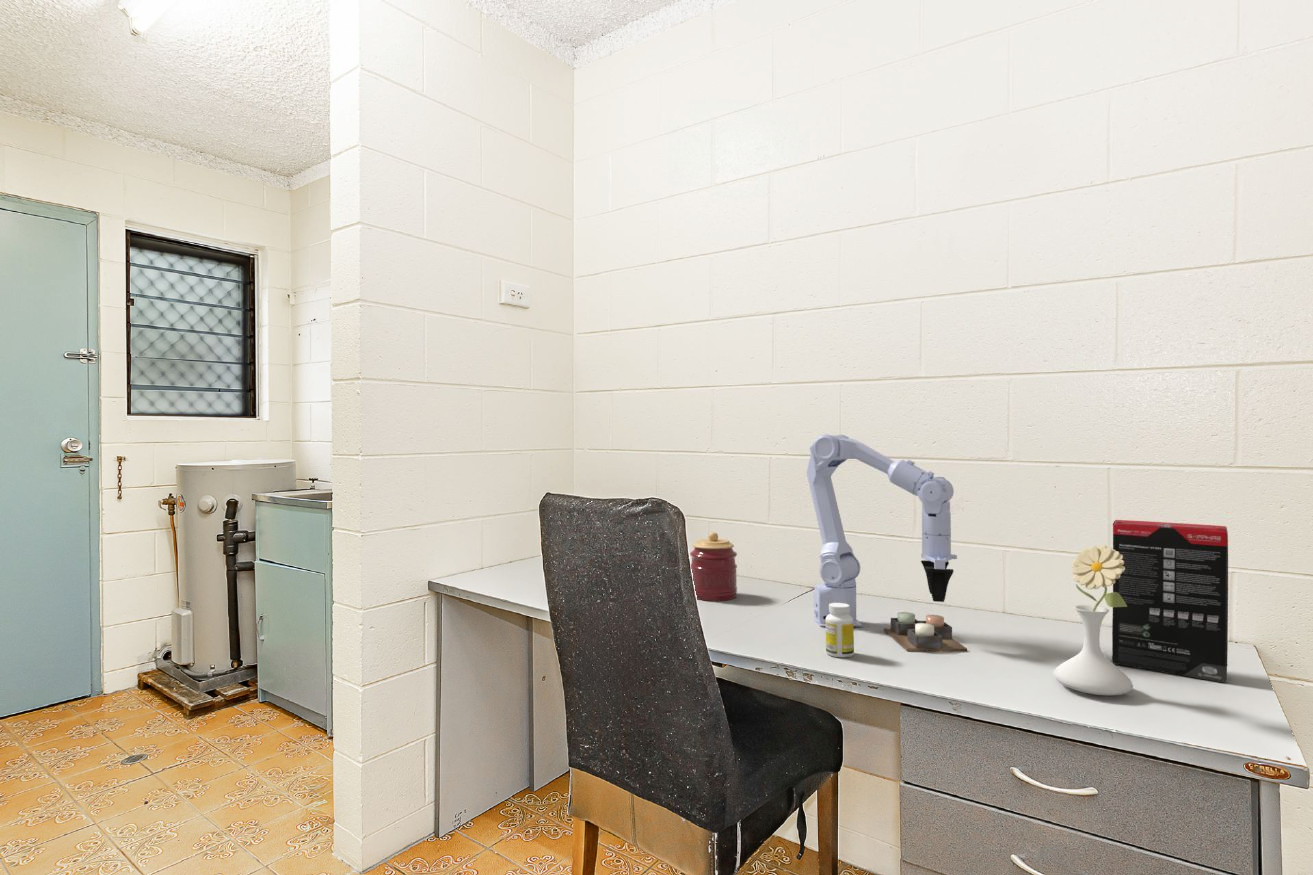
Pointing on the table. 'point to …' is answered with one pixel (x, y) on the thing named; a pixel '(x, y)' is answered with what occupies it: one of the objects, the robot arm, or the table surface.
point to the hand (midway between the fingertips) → (936, 597)
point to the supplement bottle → (839, 631)
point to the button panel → (923, 638)
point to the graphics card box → (1172, 598)
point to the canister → (714, 569)
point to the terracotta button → (935, 620)
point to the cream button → (924, 629)
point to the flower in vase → (1095, 626)
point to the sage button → (906, 617)
